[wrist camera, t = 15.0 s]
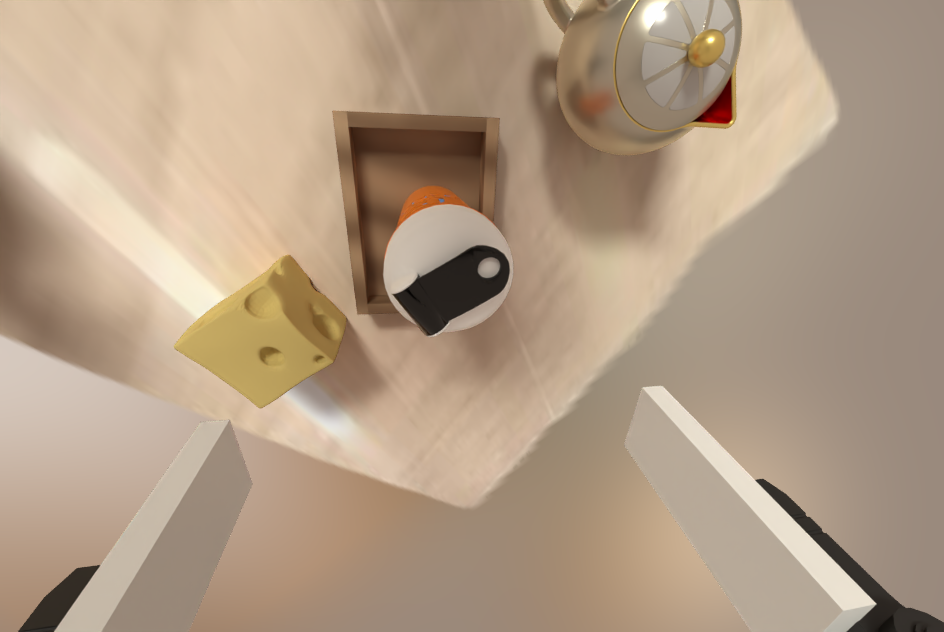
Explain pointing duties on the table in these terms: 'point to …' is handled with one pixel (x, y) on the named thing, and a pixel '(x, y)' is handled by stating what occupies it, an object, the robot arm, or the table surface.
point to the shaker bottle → (446, 263)
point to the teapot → (646, 69)
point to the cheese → (267, 334)
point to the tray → (405, 180)
